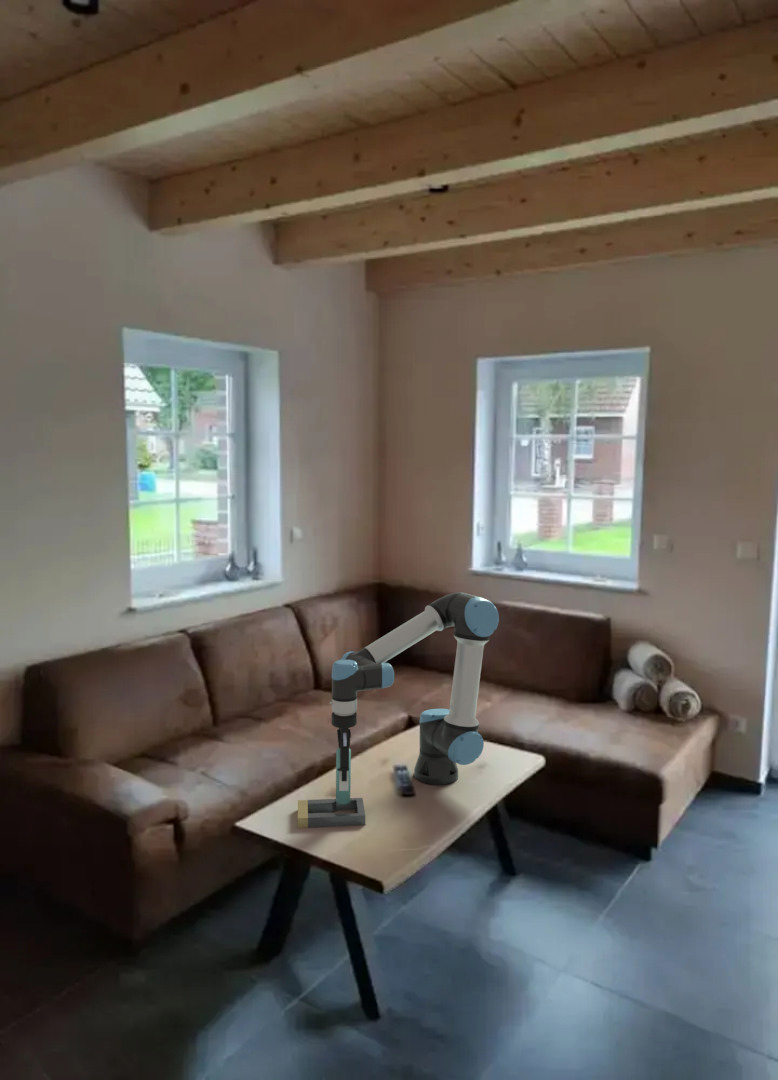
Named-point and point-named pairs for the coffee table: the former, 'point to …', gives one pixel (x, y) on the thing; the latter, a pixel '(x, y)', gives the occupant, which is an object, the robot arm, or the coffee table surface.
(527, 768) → the coffee table surface
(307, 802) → the keyhole plate
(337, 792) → the peg
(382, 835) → the coffee table surface
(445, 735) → the robot arm
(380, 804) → the coffee table surface
